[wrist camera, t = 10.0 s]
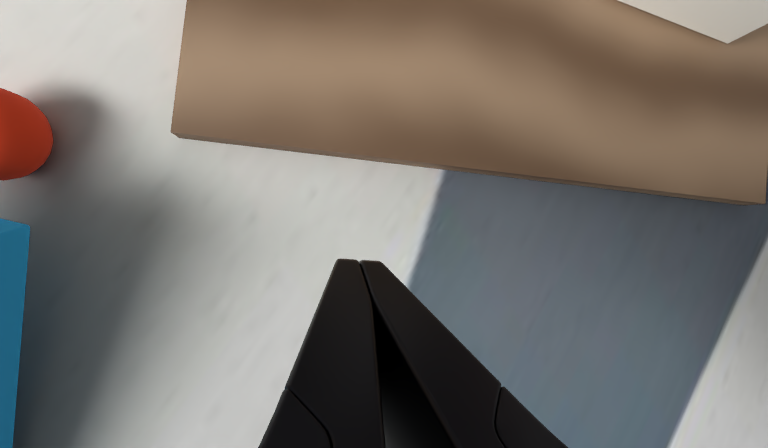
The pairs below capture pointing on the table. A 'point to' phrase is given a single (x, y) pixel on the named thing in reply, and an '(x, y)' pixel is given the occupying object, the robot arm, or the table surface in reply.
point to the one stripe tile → (710, 15)
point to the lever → (16, 240)
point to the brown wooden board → (484, 90)
